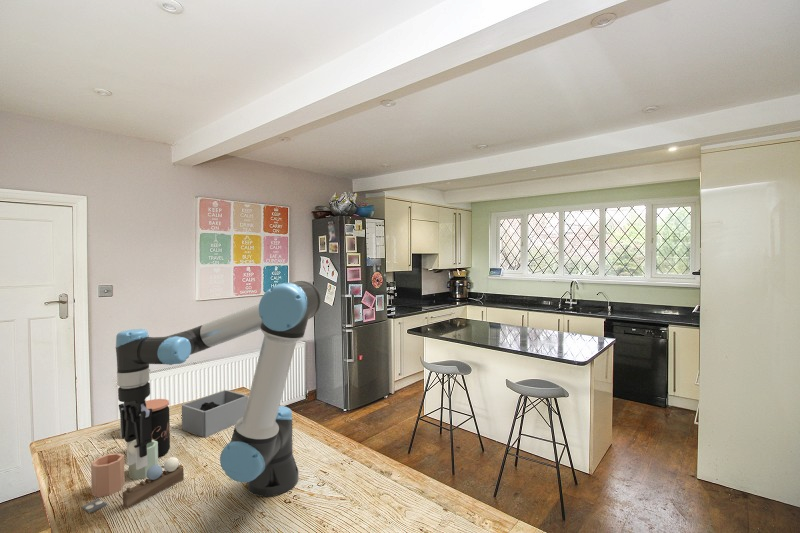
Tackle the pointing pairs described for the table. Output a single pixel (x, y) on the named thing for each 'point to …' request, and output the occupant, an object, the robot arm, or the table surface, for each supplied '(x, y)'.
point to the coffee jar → (160, 424)
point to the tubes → (115, 474)
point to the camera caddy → (213, 413)
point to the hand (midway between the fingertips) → (137, 465)
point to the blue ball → (154, 472)
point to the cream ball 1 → (132, 447)
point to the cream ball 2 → (171, 464)
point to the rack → (151, 487)
